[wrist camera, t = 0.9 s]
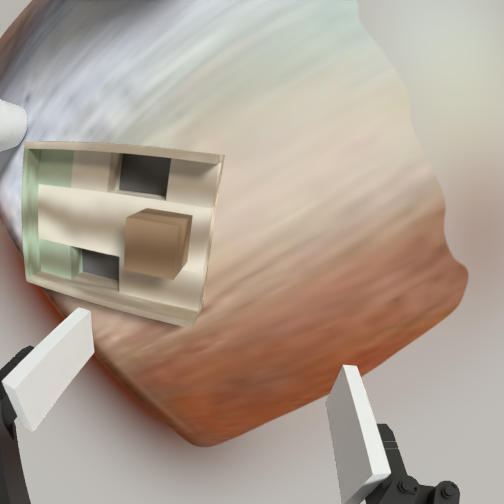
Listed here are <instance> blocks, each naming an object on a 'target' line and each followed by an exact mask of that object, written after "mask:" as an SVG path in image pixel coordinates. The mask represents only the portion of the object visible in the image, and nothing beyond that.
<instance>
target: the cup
mask: <svg viewBox="0 0 504 504" xmlns="http://www.w3.org/2000/svg"><path fill="white" fill-rule="evenodd" d="M27 122H28V121H27V114H26V111H25V110H24V108H22V107H21V106H18V105H15V104H12V103H9V102H6V101H3V100H1V99H0V152H1V151H4V150H7V149H10V148H13V147H16V146H17V145H18V144H20V142H21V141H22V139H23V138H24V135H25V133H26V130H27Z"/></svg>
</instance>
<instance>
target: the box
mask: <svg viewBox="0 0 504 504" xmlns="http://www.w3.org/2000/svg"><path fill="white" fill-rule="evenodd" d="M223 162H224V155H217V154H210V153H203V152H195V151H188V150H179V149H170V148H161V147H151V146H139V145H127V144H113V143H95V142H67V141H39V142H25V146H24V157H23V172H22V236H23V252H24V263H25V272H26V281H27V282H30V283H33V284H36V285H39V286H42V287H44V288H47V289H50V290H53V291H56V292H59V293H63V294H66V295H69V296H72V297H75V298H78V299H82V300H85V301H88V302H92V303H95V304H98V305H102V306H105V307H109V308H112V309H116V310H120V311H123V312H127V313H131V314H135V315H139V316H142V317H146V318H150V319H154V320H159V321H163V322H167V323H171V324H176V325H180V326H184V327H189V328H193V327H194V325H195V322H196V320H197V318H198V315H199V313H200V311H201V309H202V306H203V302H204V294H205V286H206V278H207V270H208V262H209V255H210V248H211V240H212V233H213V226H214V219H215V213H216V206H217V199H218V193H219V187H220V180H221V174H222V168H223ZM121 189H122V190H121ZM128 190H129V191H128ZM143 192H144V193H143ZM156 194H157V195H156ZM163 195H164V196H163ZM146 208H151V209H157V210H163V211H169V212H176V213H182V214H187V215H193V217H192V225H191V233H190V242H189V251H188V260H187V263H186V264H185V266H184V267H183V268H182V270H181V271H180V272H179V273H178V275H177V276H176V277H175V279H174V280H170V279H165V278H160V277H156V276H151V275H147V274H142V273H138V272H133V271H129V270H124V250H125V228H126V217H128V216H130V215H132V214H135V213H137V212H139V211H141V210H143V209H146Z"/></svg>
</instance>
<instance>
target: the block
mask: <svg viewBox="0 0 504 504" xmlns="http://www.w3.org/2000/svg"><path fill="white" fill-rule="evenodd" d="M192 217H193V215H187V214H182V213H176V212H169V211H163V210H157V209H151V208H146V209H143V210H141V211H139V212H137V213H135V214H132V215H130V216H128V217H126V228H125V250H124V270H129V271H133V272H138V273H142V274H147V275H151V276H156V277H160V278H165V279H170V280H174V279H175V277H176V276H177V275H178V273H179V272H180V271H181V270H182V268H183V267H184V266H185V264H186V263H187V260H188V251H189V242H190V233H191V225H192Z"/></svg>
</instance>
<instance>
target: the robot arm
mask: <svg viewBox="0 0 504 504" xmlns="http://www.w3.org/2000/svg"><path fill="white" fill-rule="evenodd" d="M93 353H94V345H93V335H92V325H91V313H90V311H89V310H86V309H83V308H80V307H78V308H77V309H76V310H75V311H74V312H73V313H72V314H71V315H69V316H68V317H67V318H66V319H65V320H64V321H63V322H62V323H61V324H60V325H59V326H57V327H56V328H55V329H54V330H53V331H52V332H51V333H50V334H49V335H48V336H47V337H46V338H45V339H44V340H43V341H42V342H40V343H39V344H38V345H37V346H36V347H35V348H34V347H32V346H28V347H26V348H24V349H22V350H21V351H20V352H19V353H18V354H16V355H15V357H13V358H12V359H11V360H10V362H8V363H7V364H6V365H5V366H4V367H3V368H2V369H1V370H0V504H31V502H30V499H29V495H28V491H27V487H26V483H25V479H24V474H23V470H22V465H21V459H20V454H19V448H18V441H17V434H16V426H15V423H14V420H15V419H16V417H18V419H19V421H20V423H21V425H23V426H24V427H26V428H27V429H29V430H31V431H33V432H34V431H35V430H36V428H37V427H38V425H39V424H40V423H41V421H42V420H43V418H44V417H45V416H46V414H47V413H48V412H49V410H50V409H51V408H52V406H53V405H54V404H55V402H56V401H57V400H58V398H59V397H60V395H61V394H62V393H63V392H64V390H65V389H66V388H67V386H68V385H69V384H70V382H71V381H72V380H73V379H74V377H75V376H76V375H77V373H78V372H79V371H80V370H81V368H82V367H83V366H84V365H85V363H86V362H87V361H88V359H89V358H90V357H91V356H92V355H93ZM326 407H327V413H328V418H329V424H330V430H331V436H332V442H333V448H334V454H335V461H336V467H337V474H338V480H339V487H340V494H341V502H342V504H360V503H361V502H362V501H363V500H364V499H365V500H366V504H459V497H460V492H459V489H458V487H457V485H456V484H454V483H453V482H451V481H442V482H440V483H439V484H438V485H437V486H436V487H433V486H424V485H420V484H419V483H418V482H417V480H416V479H414V478H413V477H411V476H408V475H407V473H406V470H405V467H404V464H403V461H402V458H401V455H400V452H399V449H398V446H397V443H396V442H395V441H396V440H395V437H394V434H393V432H392V430H391V429H390V428H389V427H388V426H387V424H376V421H375V418H374V415H373V412H372V409H371V406H370V403H369V400H368V397H367V395H366V391H365V388H364V386H363V383H362V380H361V377H360V374H359V371H358V368H357V366H350V365H343V366H342V368H341V370H340V373H339V375H338V377H337V379H336V381H335V384H334V386H333V388H332V390H331V392H330V394H329V396H328V399H327V401H326Z"/></svg>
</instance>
